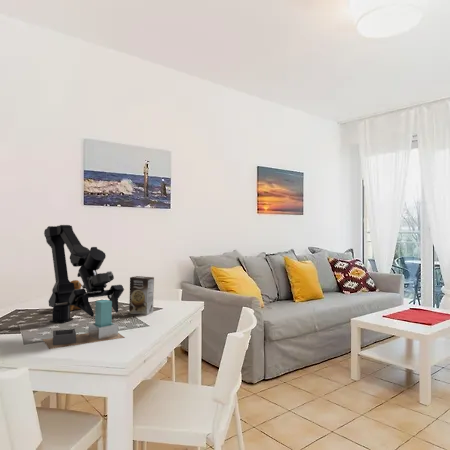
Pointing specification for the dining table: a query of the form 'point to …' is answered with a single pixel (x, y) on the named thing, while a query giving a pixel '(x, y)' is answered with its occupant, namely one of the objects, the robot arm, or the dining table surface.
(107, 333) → the port
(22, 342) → the dining table surface
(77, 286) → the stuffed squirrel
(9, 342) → the dining table surface
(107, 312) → the plug
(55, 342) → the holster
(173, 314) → the dining table surface
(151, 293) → the coffee box
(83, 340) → the panel board
